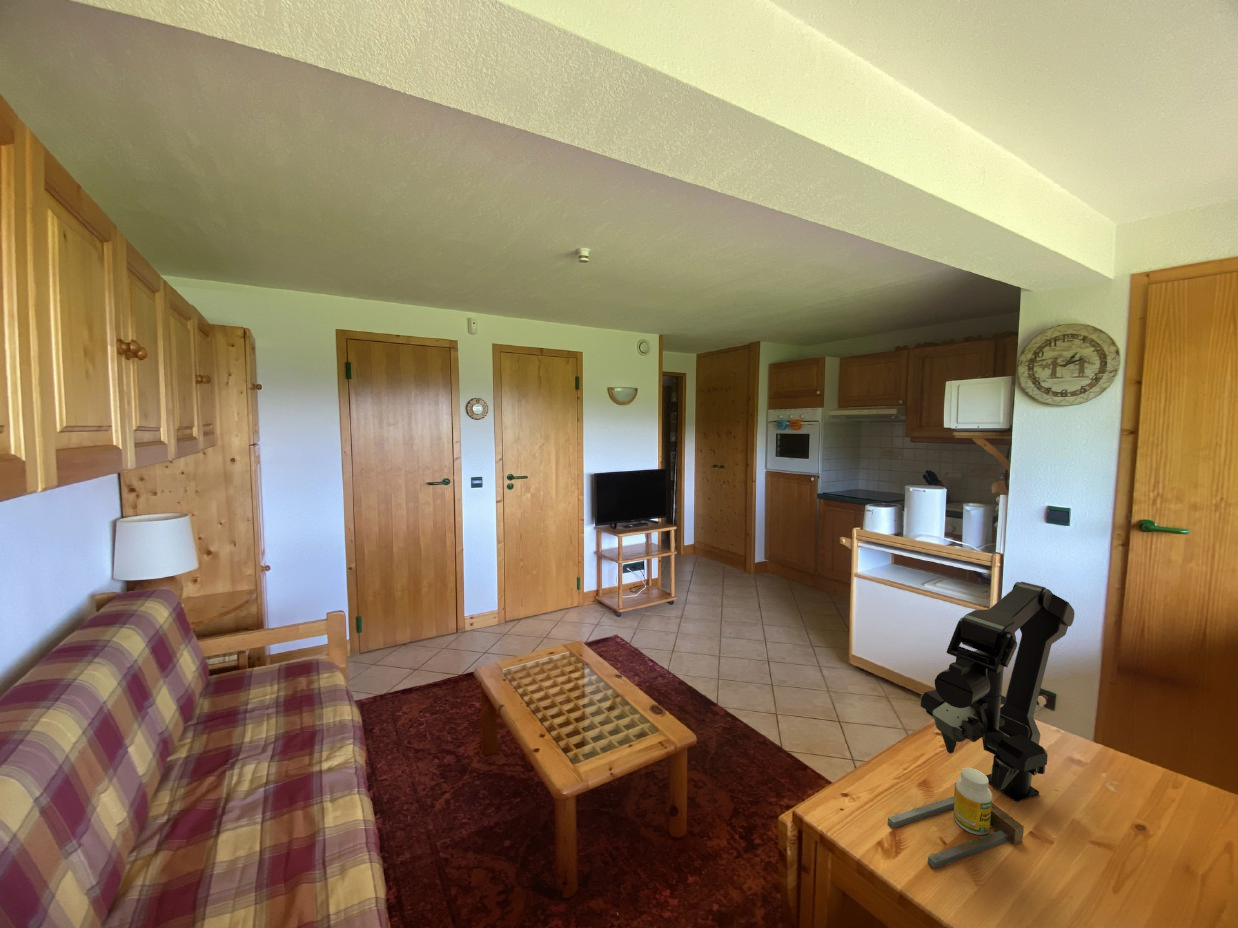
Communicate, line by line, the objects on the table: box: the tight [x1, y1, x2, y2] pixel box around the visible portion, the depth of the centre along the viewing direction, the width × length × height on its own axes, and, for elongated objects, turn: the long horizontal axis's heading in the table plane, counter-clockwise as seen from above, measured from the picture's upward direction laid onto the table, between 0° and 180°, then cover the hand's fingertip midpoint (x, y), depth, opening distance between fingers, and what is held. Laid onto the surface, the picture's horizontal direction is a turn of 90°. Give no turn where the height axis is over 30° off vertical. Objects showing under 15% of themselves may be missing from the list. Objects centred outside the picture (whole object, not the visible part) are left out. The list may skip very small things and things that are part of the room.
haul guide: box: [887, 782, 1025, 870], centre depth 87 cm, size 19×11×3 cm, turn 107°
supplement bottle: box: [953, 767, 993, 836], centre depth 88 cm, size 5×5×10 cm
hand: (974, 769), depth 88 cm, fingers open, 9 cm apart
